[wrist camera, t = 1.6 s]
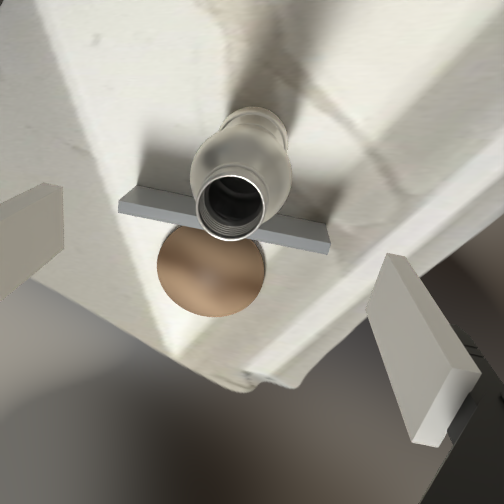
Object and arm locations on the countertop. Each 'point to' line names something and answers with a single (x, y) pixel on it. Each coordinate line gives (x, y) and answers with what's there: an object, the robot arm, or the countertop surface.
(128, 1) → the countertop surface
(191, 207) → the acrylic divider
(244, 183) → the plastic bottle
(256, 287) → the walnut coaster
